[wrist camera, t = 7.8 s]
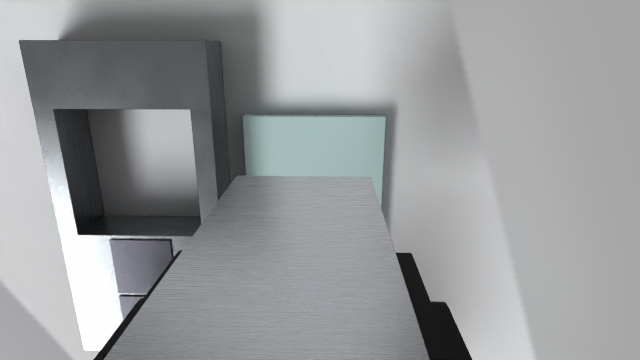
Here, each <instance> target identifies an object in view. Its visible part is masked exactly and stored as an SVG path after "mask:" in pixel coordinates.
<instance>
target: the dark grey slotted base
mask: <svg viewBox="0 0 640 360" xmlns="http://www.w3.org/2000/svg"><path fill="white" fill-rule="evenodd" d="M19 44H20V49H21V53H22V58H23V63H24V68H25V72H26V77H27V82H28V87H29V91H30V96H31V101H32V106H33V110H34V115H35V120H36V125H37V129H38V134H39V139H40V144H41V148H42V153H43V158H44V163H45V167H46V172H47V177H48V182H49V186H50V191H51V196H52V201H53V205H54V210H55V215H56V220H57V224H58V229H59V234H60V239H61V243H62V248H63V253H64V257H65V262H66V267H67V272H68V276H69V281H70V286H71V291H72V295H73V300H74V305H75V310H76V314H77V319H78V324H79V329H80V333H81V338H82V343H83V348H84V350H86V351H101V349H102V348H103V347H104V345H105V344H106V343H107V341H108V340H109V339H110V337H111V336H112V335H113V333H114V332H115V331H116V329H117V328H118V327H119V325H120V324H121V323H122V321H123V320H124V319H125V317H126V316H127V315H128V313H129V312H130V311H131V309H132V308H133V307H134V305H135V304H136V303H137V302H138V301H139V300H140V299H141V298H144V297H145V296H146V294H147V293H148V291H149V290H150V289H151V287H152V286H153V285H154V283H155V282H156V281H157V279H158V278H159V277H160V275H161V274H162V272H163V271H164V270H165V268H166V267H167V266H168V264H169V263H170V262H171V260H172V259H173V258H174V256H175V255H176V254H177V252H178V251H179V250H183V249H184V248H185V246H186V245H187V244H188V242H189V241H190V239H191V238H192V237H193V235H194V234H195V232H196V231H197V230H198V228H199V227H200V225H201V224H202V223H203V221H204V220H205V219H206V217H207V216H208V214H209V213H210V212H211V210H212V209H213V207H214V206H215V205H216V203H217V202H218V201H219V199H220V198H221V196H222V195H223V194H224V192H225V191H226V189H227V188H228V187H229V185H230V174H229V160H228V145H227V131H226V117H225V102H224V88H223V73H222V59H221V45H220V41H208V40H19ZM86 109H190V111H191V121H192V132H193V142H194V153H195V163H196V174H197V185H198V195H199V206H200V216H201V217H187V216H104V210H103V204H102V198H101V193H100V187H99V181H98V175H97V169H96V164H95V158H94V152H93V146H92V140H91V134H90V129H89V123H88V117H87V111H86Z"/></svg>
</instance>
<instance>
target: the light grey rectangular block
mask: <svg viewBox="0 0 640 360" xmlns="http://www.w3.org/2000/svg"><path fill="white" fill-rule="evenodd" d="M104 360H430V359H429V356H428V353H427V350H426V347H425V344H424V341H423V337H422V334H421V331H420V328H419V325H418V322H417V319H416V315H415V312H414V309H413V306H412V303H411V300H410V297H409V293H408V290H407V287H406V284H405V281H404V278H403V275H402V271H401V268H400V265H399V262H398V259H397V256H396V253H395V250H394V246H393V243H392V240H391V237H390V234H389V231H388V228H387V224H386V221H385V218H384V215H383V212H382V209H381V206H380V202H379V199H378V196H377V193H376V190H375V187H374V184H373V180H372V177H349V176H236V177H235V178H234V180H233V181H232V183H231V184H230V185H229V187H228V188H227V189H226V191H225V192H224V194H223V195H222V196H221V198H220V199H219V201H218V202H217V203H216V205H215V206H214V207H213V209H212V210H211V212H210V213H209V214H208V216H207V217H206V219H205V220H204V221H203V223H202V224H201V225H200V227H199V228H198V230H197V231H196V232H195V234H194V235H193V237H192V238H191V239H190V241H189V242H188V244H187V245H186V246H185V248H184V249H183V250H182V252H181V253H180V255H179V256H178V257H177V259H176V260H175V262H174V263H173V264H172V266H171V267H170V268H169V270H168V271H167V273H166V274H165V275H164V277H163V278H162V280H161V281H160V282H159V284H158V285H157V286H156V288H155V289H154V291H153V292H152V293H151V295H150V296H149V298H148V299H147V300H146V302H145V303H144V304H143V306H142V307H141V309H140V310H139V311H138V313H137V314H136V316H135V317H134V318H133V320H132V321H131V322H130V324H129V325H128V327H127V328H126V329H125V331H124V332H123V334H122V335H121V336H120V338H119V339H118V340H117V342H116V343H115V345H114V346H113V347H112V349H111V350H110V352H109V353H108V354H107V356H106V357H105V358H104Z"/></svg>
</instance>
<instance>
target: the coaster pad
mask: <svg viewBox="0 0 640 360" xmlns="http://www.w3.org/2000/svg"><path fill="white" fill-rule="evenodd" d="M385 120H386V117H385V116H384V115H244V116H243V133H244V150H245V168H246V176H349V177H372V180H373V184H374V187H375V190H376V193H377V196H378V199H379V202H380V206H381V201H382V181H383V160H384V140H385Z"/></svg>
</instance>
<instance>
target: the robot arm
mask: <svg viewBox="0 0 640 360" xmlns="http://www.w3.org/2000/svg"><path fill="white" fill-rule="evenodd" d="M181 252H182V250H179V251H178V252H177V254H176V255H175V256H174V258H173V259H172V260H171V262H170V263H169V264H168V266H167V267H166V268H165V270H164V271H163V272H162V274H161V275H160V277H159V278H158V279H157V281H156V282H155V283H154V285H153V286H152V287H151V289H150V290H149V291H148V293H147V294H146V296H145V297H144V298H141V299H140V300H139V301H138V302H137V303H136V304H135V305H134V307H133V308H132V309H131V311H130V312H129V313H128V315H127V316H126V317H125V319H124V320H123V321H122V323H121V324H120V325H119V327H118V328H117V329H116V331H115V332H114V333H113V335H112V336H111V337H110V339H109V340H108V341H107V343H106V344H105V345H104V347H103V348H102V349H101V351H100V352H99V353H98V355H97V356H96V357H95V359H94V360H104V358H105V357H106V356H107V354H108V353H109V352H110V350H111V349H112V347H113V346H114V345H115V343H116V342H117V340H118V339H119V338H120V336H121V335H122V334H123V332H124V331H125V329H126V328H127V327H128V325H129V324H130V322H131V321H132V320H133V318H134V317H135V316H136V314H137V313H138V311H139V310H140V309H141V307H142V306H143V304H144V303H145V302H146V300H147V299H148V298H149V296H150V295H151V293H152V292H153V291H154V289H155V288H156V286H157V285H158V284H159V282H160V281H161V280H162V278H163V277H164V275H165V274H166V273H167V271H168V270H169V268H170V267H171V266H172V264H173V263H174V262H175V260H176V259H177V257H178V256H179V255H180V253H181ZM396 256H397V259H398V262H399V265H400V268H401V271H402V275H403V278H404V281H405V284H406V287H407V290H408V293H409V297H410V300H411V303H412V306H413V309H414V312H415V315H416V319H417V322H418V325H419V328H420V331H421V334H422V337H423V341H424V344H425V347H426V350H427V353H428V356H429V359H430V360H472V358H471V356H470V354H469V352H468V349H467V347H466V345H465V343H464V341H463V338H462V336H461V334H460V332H459V330H458V327H457V325H456V323H455V321H454V319H453V316H452V314H451V312H450V310H449V308H448V306H447V304H446V303H445V302H430V299H429V296H428V294H427V291H426V289H425V286H424V284H423V281H422V279H421V276H420V274H419V271H418V269H417V266H416V263H415V261H414V258H413V256H412V254H411V253H396Z"/></svg>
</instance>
